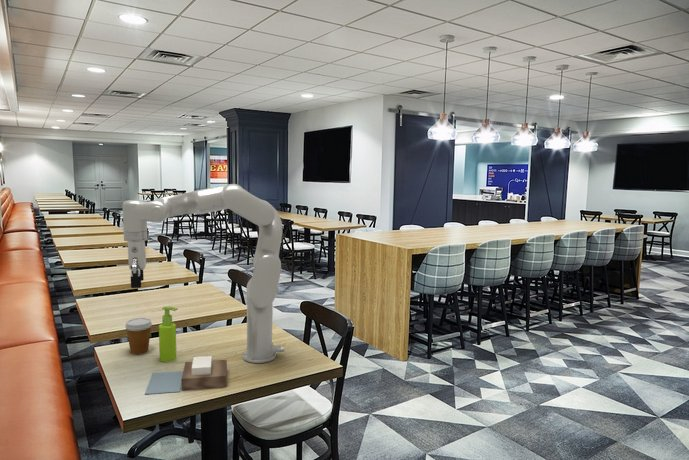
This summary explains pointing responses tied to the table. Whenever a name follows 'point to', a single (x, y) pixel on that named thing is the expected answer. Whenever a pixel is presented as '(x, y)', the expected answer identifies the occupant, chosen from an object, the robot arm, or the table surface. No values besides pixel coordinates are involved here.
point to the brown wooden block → (205, 376)
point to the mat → (164, 383)
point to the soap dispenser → (167, 336)
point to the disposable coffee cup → (138, 335)
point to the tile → (202, 365)
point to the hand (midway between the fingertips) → (137, 284)
